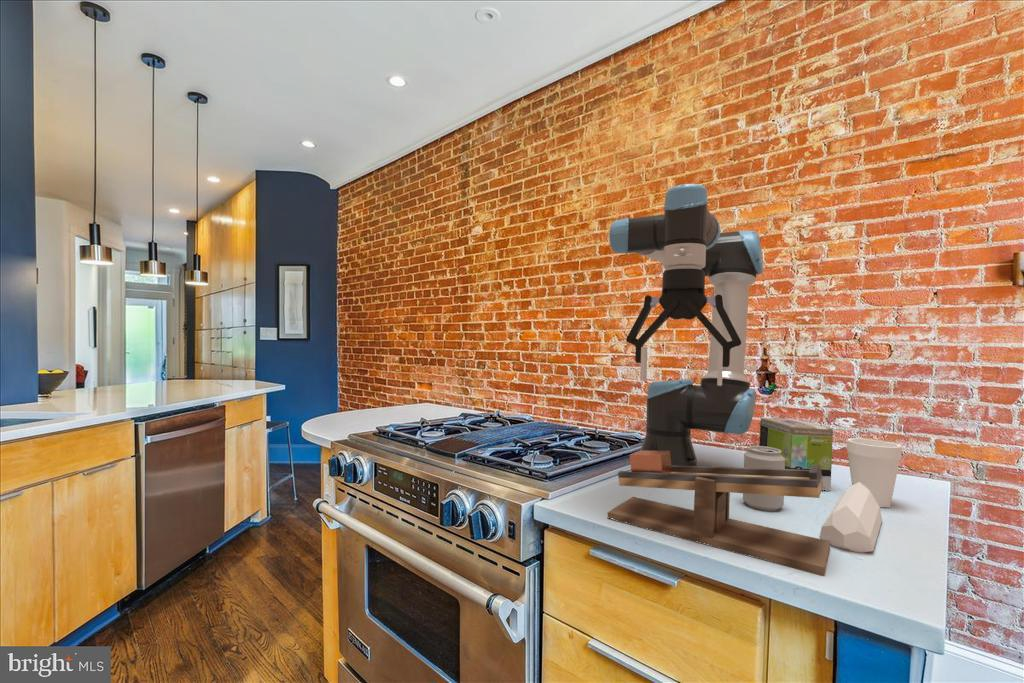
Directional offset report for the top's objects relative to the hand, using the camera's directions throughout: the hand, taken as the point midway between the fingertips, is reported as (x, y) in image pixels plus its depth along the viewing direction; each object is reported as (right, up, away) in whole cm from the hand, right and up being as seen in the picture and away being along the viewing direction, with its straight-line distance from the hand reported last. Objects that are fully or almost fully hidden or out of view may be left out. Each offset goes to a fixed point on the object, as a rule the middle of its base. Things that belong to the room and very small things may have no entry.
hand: (680, 382), depth 91 cm
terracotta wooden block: (-5, -17, 0) cm, 18 cm away
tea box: (+37, -27, +28) cm, 54 cm away
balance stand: (+3, -26, -6) cm, 27 cm away
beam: (+4, -17, -6) cm, 18 cm away
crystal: (+30, -27, -3) cm, 41 cm away
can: (+20, -26, +9) cm, 34 cm away
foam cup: (+46, -27, +13) cm, 55 cm away
